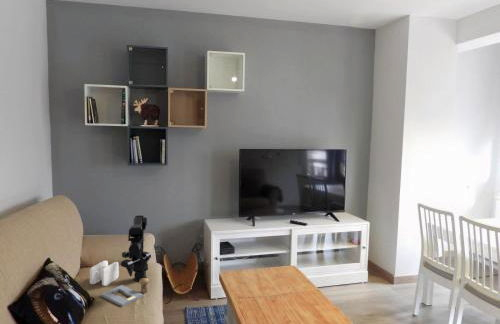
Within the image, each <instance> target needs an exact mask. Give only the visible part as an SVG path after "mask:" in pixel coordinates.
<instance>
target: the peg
mask: <svg viewBox="0 0 500 324" xmlns="http://www.w3.org/2000/svg"><path fill="white" fill-rule="evenodd" d="M149 281H150V280H149V278H148V277H147V278H142V279H140V280H139V282H138V283H139V285H140V293H141V294H143V293H144V294H147V293H148V284H149V283H150V282H149Z"/></svg>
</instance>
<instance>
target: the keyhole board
mask: <svg viewBox="0 0 500 324" xmlns="http://www.w3.org/2000/svg"><path fill="white" fill-rule="evenodd" d="M117 291H118V292H120V291H121V292H120V293H122V292H123V293H122V294H123V295H124V294H125V295H124V296H126V295H127V297H128V298H124V297H122V296H120V295H118V294H116V293H118V292H117ZM115 292H116V293H115ZM113 293H114V294H113ZM100 296H101V297H102V298H104V299H106V300H108V301H110V302H112V303H114V304H116V305H118V306H120V307H125V306H128V305H129V304H131V303H133V302H135V301H137V300H139V299H142V298H143V297H144V294H143V293H141V292H139V291H136V290H135V289H132V288H130V287H128V286H126V285H123V284H121V285H119V286H116V287H114V288H112V289H109V290H107V291H105V292H103V293H100Z"/></svg>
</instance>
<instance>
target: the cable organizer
mask: <svg viewBox="0 0 500 324" xmlns="http://www.w3.org/2000/svg"><path fill="white" fill-rule="evenodd" d="M119 275H120V271H119V262H118V261H114V262H112V263H111V264H109V261H108V260H102V261H100V262H99V263H97V264H95V265H93V266H91V267H90V269H89V284H90V285H97V284H98V283H100V281H101V285H102V286H103V287H104V286H105V287H107V286H109V285H110V284H111V283H113V282H114V281H116V280H117V279H118V278H119Z"/></svg>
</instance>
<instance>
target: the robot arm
mask: <svg viewBox="0 0 500 324" xmlns="http://www.w3.org/2000/svg"><path fill="white" fill-rule="evenodd" d="M132 223H133V224H132V225H131V226H130V228H129V229H128V235H127V236H128V239H127V241H128V242H130V244H129V246H128V251H122V252H121V257H122V259H123V260H122V261H121V262H120V267H123V268H125V269H126V271H127V274H128V275H129V277H132V276H133V272H134V278H133V280H134V281H136V282H138V283H139V280H140V279H142V278H148V277H147V271H148V270H149V264H148V261H149V260H150V259H151V258H152V254H151V252H149V251H145V249H144V248H145V247H144V243H145V242H144V240H145V239H144V238H145V231H146V229H147V226H148V218H147V217H145V216H144V215H139V214H138V215H135V216H134V218H133V221H132ZM127 258H128V259H127Z"/></svg>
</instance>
